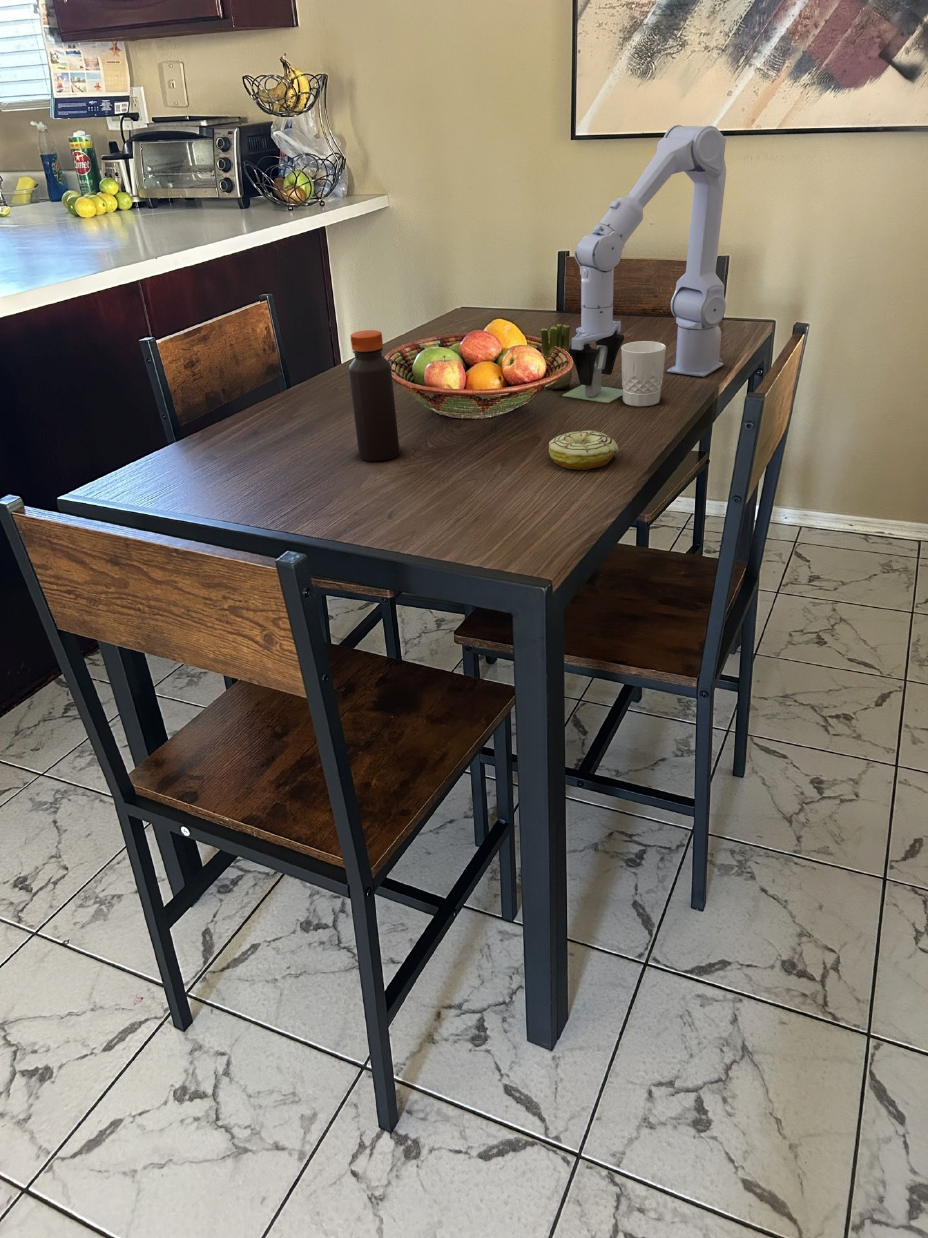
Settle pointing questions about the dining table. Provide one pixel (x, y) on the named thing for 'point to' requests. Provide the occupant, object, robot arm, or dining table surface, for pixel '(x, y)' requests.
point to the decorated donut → (582, 449)
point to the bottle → (373, 398)
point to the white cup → (642, 372)
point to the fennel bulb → (558, 339)
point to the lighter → (597, 372)
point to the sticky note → (603, 396)
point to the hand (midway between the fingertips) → (596, 379)
